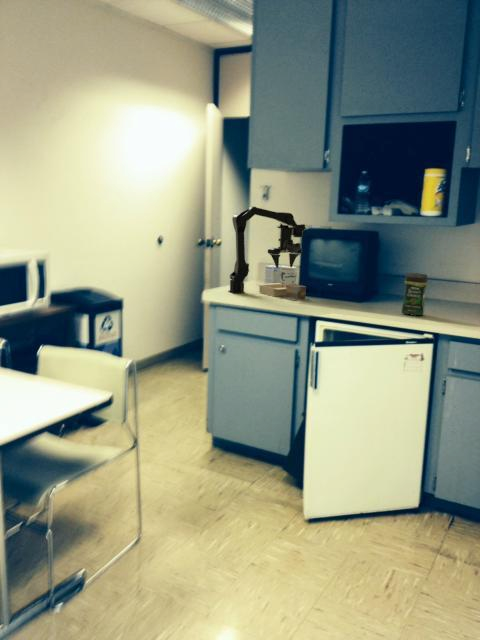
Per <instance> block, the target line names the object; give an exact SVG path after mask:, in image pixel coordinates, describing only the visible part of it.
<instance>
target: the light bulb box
mask: <svg viewBox="0 0 480 640" xmlns="http://www.w3.org/2000/svg"><path fill="white" fill-rule="evenodd" d="M281 266H283V265H282V264H279V266H278V268H276V265H275V264H273V265H265V269H264V270H265V271H264V284H270V283H280V270H281Z"/></svg>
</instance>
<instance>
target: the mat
mask: <svg viewBox="0 0 480 640" xmlns="http://www.w3.org/2000/svg"><path fill="white" fill-rule="evenodd" d="M281 298H282V299H286V300H289V301H294V302H295V301H305V300H308V301H309V300H310V298H308V297H305V299H293V298H289V297H286V296H281Z"/></svg>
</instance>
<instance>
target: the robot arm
mask: <svg viewBox="0 0 480 640" xmlns="http://www.w3.org/2000/svg"><path fill="white" fill-rule="evenodd" d="M255 215H256V216H259V217H265V218H267V219H268V218H269V219H272V220H275V221H277V222H280V223H279V225H277V226H276V228H277V229H280V237H279V238H278V241H279V246H278V247H269V248H268V249H267V254H268V255H269V256H271V258H272V260H273V262H274V265H276V268H278V266H279V265H280V264H279V261H280V257H281V253H288V259H289V266H290V267H292V266H293V267H294V263H295V261H296V258H297V257H298V256H300V255H302V254H301V249H302V244H301V243H299V242H296V243H294V241H293V240H294V239H292V237H293V238H302V231H303V230H304V229H306V228H307V227H306V224H305V223H302V224H297V222H296V220H295V218H294V217H295V216H294V215H293V213H291V212H286V211H285V212H282V211H273V210H269V209H265V208H262V207H261V208H260V207H256V206H252V205H251V206H249V208H247V209H246V210H242V211H241V212H240V213H236V214H234V215H233V216H232V225H233V226H232V227H233V229H234V232H235V254H236V255H235V256H236V257H235V258H236V261H235V263H234V270H233V271H232V272H231V273H230V274H229V278H230V280H229V290H228V291H227V292H229V293H233V294H242V293H243V294H245V293H246V291H245V283H244V281H245V278H246V277H247V276H248V275H249V272H250V268H249V267H250V263H248V262H247V261H246V255H245V254H246V250H245V246H246V245H245V230H246V228H247V221H250V220H251V219H252V218H253V217H254V216H255ZM289 226H290V227H289ZM306 230H307V229H306ZM302 239H303V238H302Z"/></svg>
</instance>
